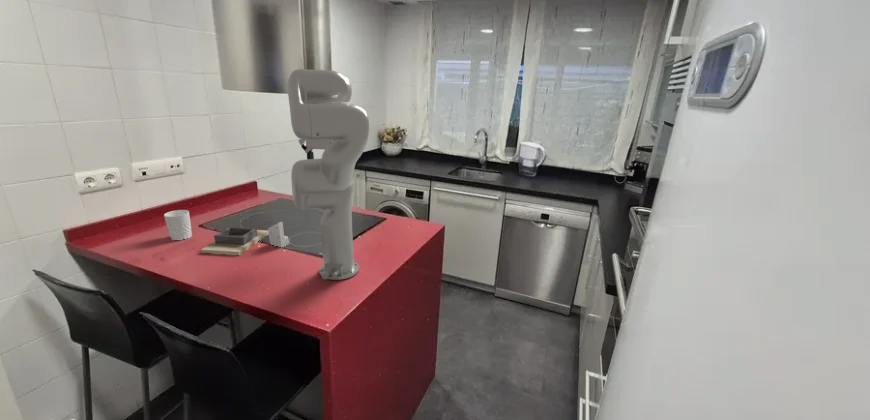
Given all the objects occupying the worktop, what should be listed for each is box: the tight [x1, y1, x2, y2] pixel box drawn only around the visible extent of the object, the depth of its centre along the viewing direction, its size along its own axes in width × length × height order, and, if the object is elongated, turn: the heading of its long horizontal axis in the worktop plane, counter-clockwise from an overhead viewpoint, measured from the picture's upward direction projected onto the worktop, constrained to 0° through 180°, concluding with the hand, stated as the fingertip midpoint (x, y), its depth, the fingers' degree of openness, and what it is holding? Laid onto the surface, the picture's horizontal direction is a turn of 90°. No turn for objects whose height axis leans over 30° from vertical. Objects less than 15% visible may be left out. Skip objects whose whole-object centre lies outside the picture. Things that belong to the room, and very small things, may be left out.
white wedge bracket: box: [267, 221, 290, 249], centre depth 137 cm, size 4×10×9 cm
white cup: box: [163, 209, 193, 241], centre depth 140 cm, size 8×8×10 cm
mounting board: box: [200, 226, 269, 257], centre depth 138 cm, size 20×14×4 cm
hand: (324, 164), depth 131 cm, fingers open, 9 cm apart
